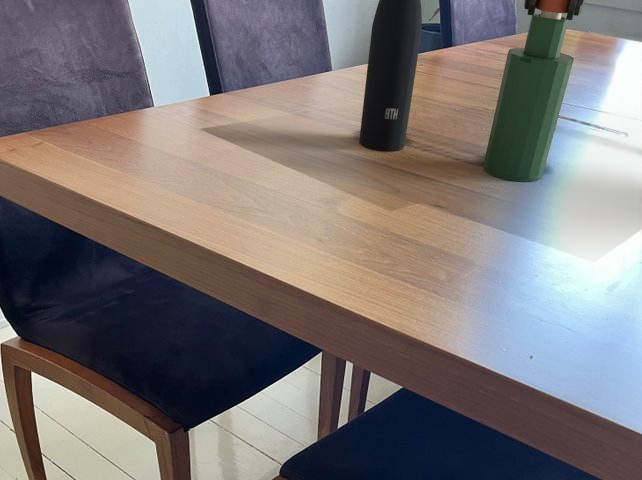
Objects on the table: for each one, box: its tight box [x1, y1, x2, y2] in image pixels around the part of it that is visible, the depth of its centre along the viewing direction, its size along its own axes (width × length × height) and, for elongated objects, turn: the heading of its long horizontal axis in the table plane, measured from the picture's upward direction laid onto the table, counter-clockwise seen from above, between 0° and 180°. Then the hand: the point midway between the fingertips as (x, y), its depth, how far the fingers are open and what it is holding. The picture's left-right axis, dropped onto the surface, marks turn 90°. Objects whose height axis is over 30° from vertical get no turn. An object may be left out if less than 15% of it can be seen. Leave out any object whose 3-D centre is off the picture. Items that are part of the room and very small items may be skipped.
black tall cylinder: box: [358, 0, 423, 152], centre depth 93 cm, size 6×6×30 cm
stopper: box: [535, 0, 571, 19], centre depth 86 cm, size 4×4×7 cm
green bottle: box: [482, 13, 575, 183], centre depth 92 cm, size 8×8×18 cm
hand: (550, 11), depth 84 cm, fingers closed on stopper, 4 cm apart
